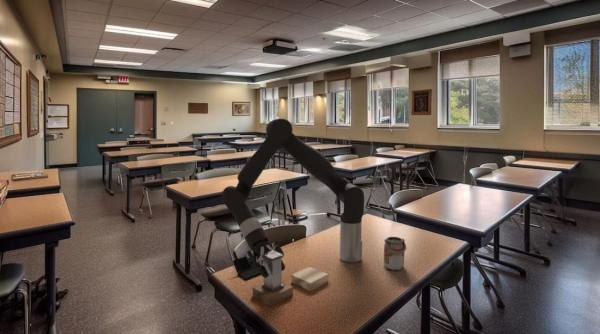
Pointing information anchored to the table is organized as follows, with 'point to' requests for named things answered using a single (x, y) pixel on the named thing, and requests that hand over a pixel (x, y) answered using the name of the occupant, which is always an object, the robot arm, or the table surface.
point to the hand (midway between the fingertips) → (275, 273)
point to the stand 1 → (272, 294)
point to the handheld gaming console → (245, 268)
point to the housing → (273, 271)
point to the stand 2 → (309, 278)
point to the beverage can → (394, 253)
